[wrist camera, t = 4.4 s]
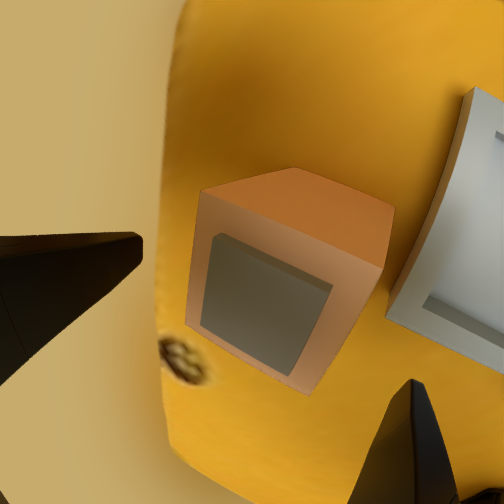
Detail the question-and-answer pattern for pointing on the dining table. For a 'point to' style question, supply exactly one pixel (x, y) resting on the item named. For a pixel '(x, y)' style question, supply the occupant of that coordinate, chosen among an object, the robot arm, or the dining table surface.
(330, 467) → the dining table surface
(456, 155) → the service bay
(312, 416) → the dining table surface
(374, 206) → the block
